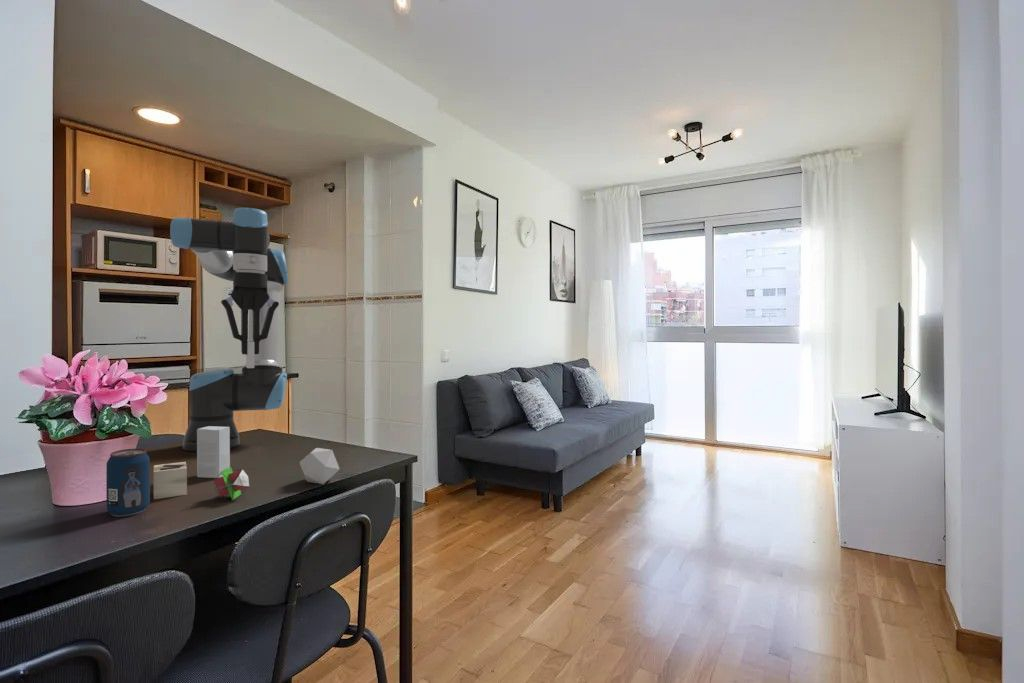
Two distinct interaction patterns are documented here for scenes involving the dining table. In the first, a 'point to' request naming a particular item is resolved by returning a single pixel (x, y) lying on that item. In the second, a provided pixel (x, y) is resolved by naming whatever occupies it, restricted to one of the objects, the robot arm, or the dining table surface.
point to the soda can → (128, 482)
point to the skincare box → (213, 451)
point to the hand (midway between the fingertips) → (250, 367)
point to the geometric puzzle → (231, 482)
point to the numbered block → (170, 480)
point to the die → (319, 465)
